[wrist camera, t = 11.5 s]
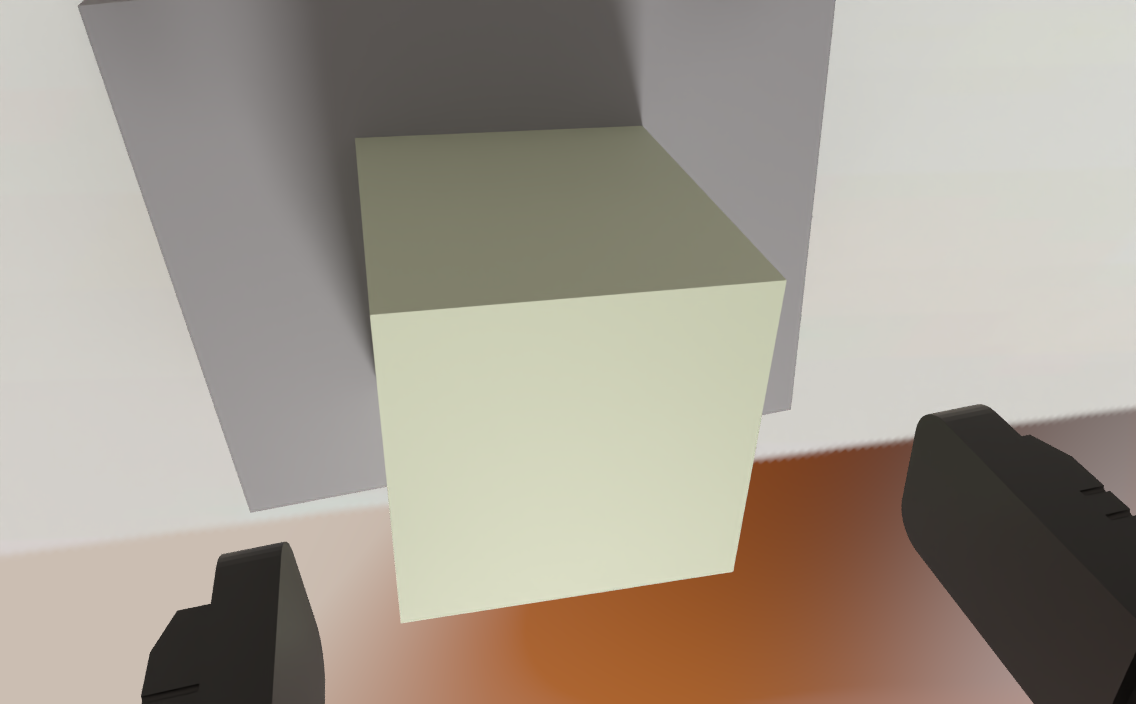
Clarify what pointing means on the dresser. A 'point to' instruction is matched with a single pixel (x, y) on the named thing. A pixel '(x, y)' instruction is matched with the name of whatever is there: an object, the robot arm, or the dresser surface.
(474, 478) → the block
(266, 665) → the robot arm
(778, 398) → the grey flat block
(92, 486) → the dresser surface
